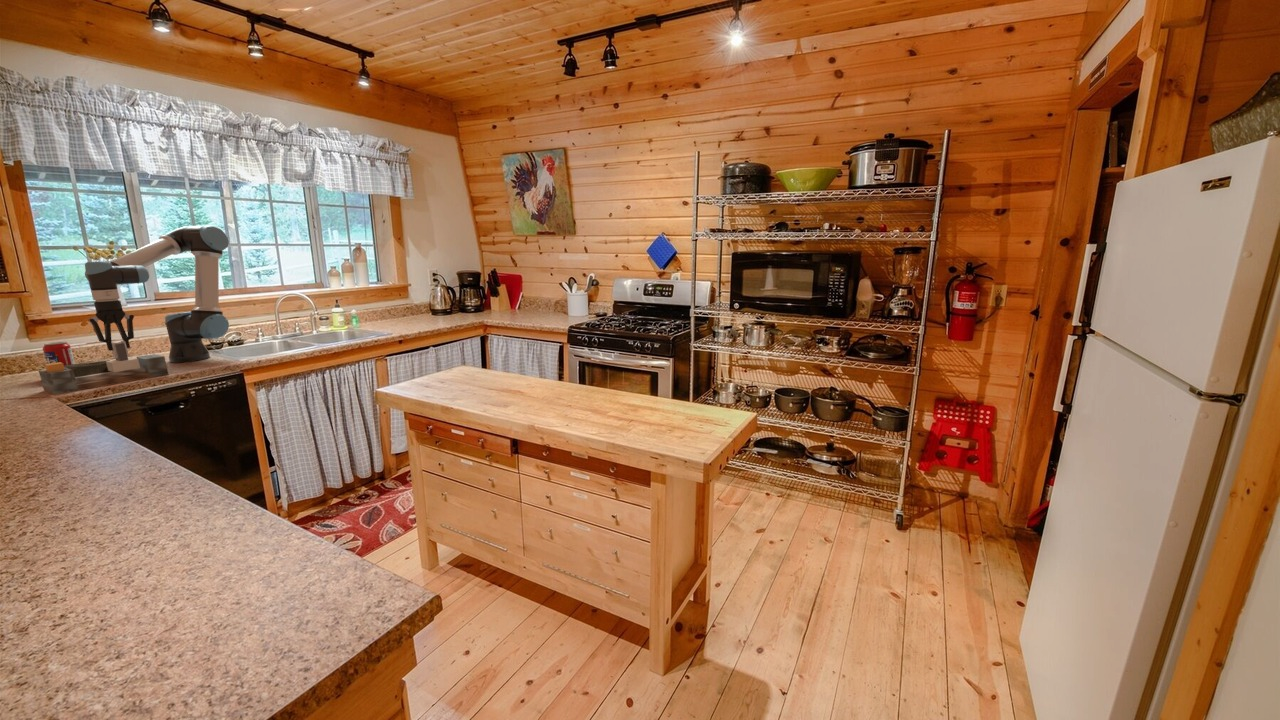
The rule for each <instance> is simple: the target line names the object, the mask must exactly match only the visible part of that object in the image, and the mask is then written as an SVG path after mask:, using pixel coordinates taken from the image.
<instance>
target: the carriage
mask: <svg viewBox="0 0 1280 720" xmlns="http://www.w3.org/2000/svg"><path fill="white" fill-rule="evenodd" d="M114 343H115V347H116V351H117V355H118V358H114V359H112V360H111V359H109V360H110V361H106V364H107V367H108V371H111V372H119V371H125V370H132V369H138V368H140V364H139V360H138V359H137V358H136V357H127V353H126V349H125V345H124V343H121V341H119V342H114Z"/></svg>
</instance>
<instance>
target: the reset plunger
mask: <svg viewBox="0 0 1280 720" xmlns="http://www.w3.org/2000/svg"><path fill="white" fill-rule="evenodd" d="M44 367H45V370H46V371H47V372H55V371H62V370H65V368H64V365H63V363H61V362H58V363H51V364H47V363H46V364H45V363H44Z"/></svg>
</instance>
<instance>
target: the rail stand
mask: <svg viewBox="0 0 1280 720" xmlns="http://www.w3.org/2000/svg"><path fill="white" fill-rule="evenodd" d="M135 358H137V359H138V360H139V364H140V368H138V369H132V370H125V371H119V372H106V373H100V374H94V375H87V376H81V377H75V376H74V372H73V370H72V369H69V368H66V367H64V368H65V370H62V371H55V372H47V371H46V369H43V370H38V373H39V376H40V380H41V384H42V388H43V392H46V393H47V394H50V395H53V396H54V395H57V394H64V393H70V392H74V391H80V390H86V389H90V388H91V389H92V388H98V387H104V386H110V385H115V384H120V383H121V384H122V383H128V382H131V381H138V380H144V379H150V378H151V379H152V378H155V377H162V376H166V375H169V371H168V366H167V362H166V358H165V356H164V355H161V354H160V355H159V354H155V353H154V354H153V353H152V354H146V355H139V356H136V357H135Z"/></svg>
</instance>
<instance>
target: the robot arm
mask: <svg viewBox="0 0 1280 720" xmlns="http://www.w3.org/2000/svg"><path fill="white" fill-rule="evenodd" d="M229 244H230V241H229V237H228V235H227V233H226V232H224V230H223V229H222V228H220V227H218V226H215V225H209V224H204V225H187V226H185V225H184V226H182V227H179V228H176V229H173V230H171V231H169V232H168V233H165V234H163V235H161V236H159V237H158V239H157V240H155V241H153V242H151V243H148V244H146V245H144V246H142V247H140V248H138V249H135V250H133V251H130V252H127V253H126V254H124V255H121V256H120V257H119V256H118V257H117V258H115V259H112V260H110V261H108V260H107V261H87V262H85V263H84V268H85V269H84V270H85V272H84V276H85V279H86V280H87V281H88V285H89V289H90V292H91V295H92V296H91V297H92V300H93V301H94V302H93V304H94V308H95V315H94V316H93V317H91V318H90V317H89V318H87V321H88V322H89V323H90V324H91V325H92V328H93V330H94V332H95V335H96V337H97V340H98V341H99V342H101V343H105V344H106V346H107V350H108V351H109V352H112V356H113V359H115V358H118V355H117V351H116V347H115V343H116V342H114V341H113V340H112V331H111V330H112V328H111V326H112V324H115V325H116V327H117V330H118V332H119V334H120V337H121V340H120V343H124V345H125V349H126V353H127V357H128V358H130V355H129V351H128V349H130V348H131V345H130V340H132V339H134V338H135V334H134V325H133V324H134V322H133V321H134V318H135V315H133V314H129V313H126V312H125V310H123V306H122V301H121V300H119V299H120V298H121V297H120V294H119V290H118V285H132V284H133V285H134V284H139V285H140V284H144V283H146V282H148V281H149V279H150V274H149V271H148V269H147V267H148V266H150V265H153V264H155V263H156V262H159V261H161V260H163V259H165V258H168V257H170V256H171V255H174V256H175V255H176V256H177V255H180V254H181V253H184V252H190V253H191V254H192V255H193V256H194V266H195V267H194V279H195V280H194V288H195V289H194V303H195V304H194V305H195V306H194V307H193V308H191V310H190V311H185V312H177V313H176V312H175V313H172V314H171V313H170V314H167V315H166V316H165V317H164V320H165V321H164V323H165V326H166V327H165V328H166V330H167V335H168V338H169V343H170V350H169V355H168V360H169V362H170V363H187V362H195V361H196V362H197V361H201V360H205V359H209V358H210V357H211V354H210V352H209V350H208V349H207V347H206V345H205V344H204V342H203V339H204V340H213V339H219V338H222V337H223V336H224V335H226V333H227V332H228V330H229V328H230V327H229V326H230V323H229V320H228V319H227V317H226V316H224V315H223V310H222V309H220V308H219V296H220V295H219V284H220V283H219V280H220V279H219V273H220V272H219V262H220V261H219V260H220V258H221V257H223V255H224V254H223V251H224V250H226V249H227V248H228V247H229ZM124 318H125V320H126V329H127V332H126V330H125V327H124V325H123V323H122V320H123V319H124ZM98 320H99V321H101V322H102V323H103V327H104V328H103V329H104V334H103V333H102V330H101V327H100V326H99V323H98V322H99V321H98Z"/></svg>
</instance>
